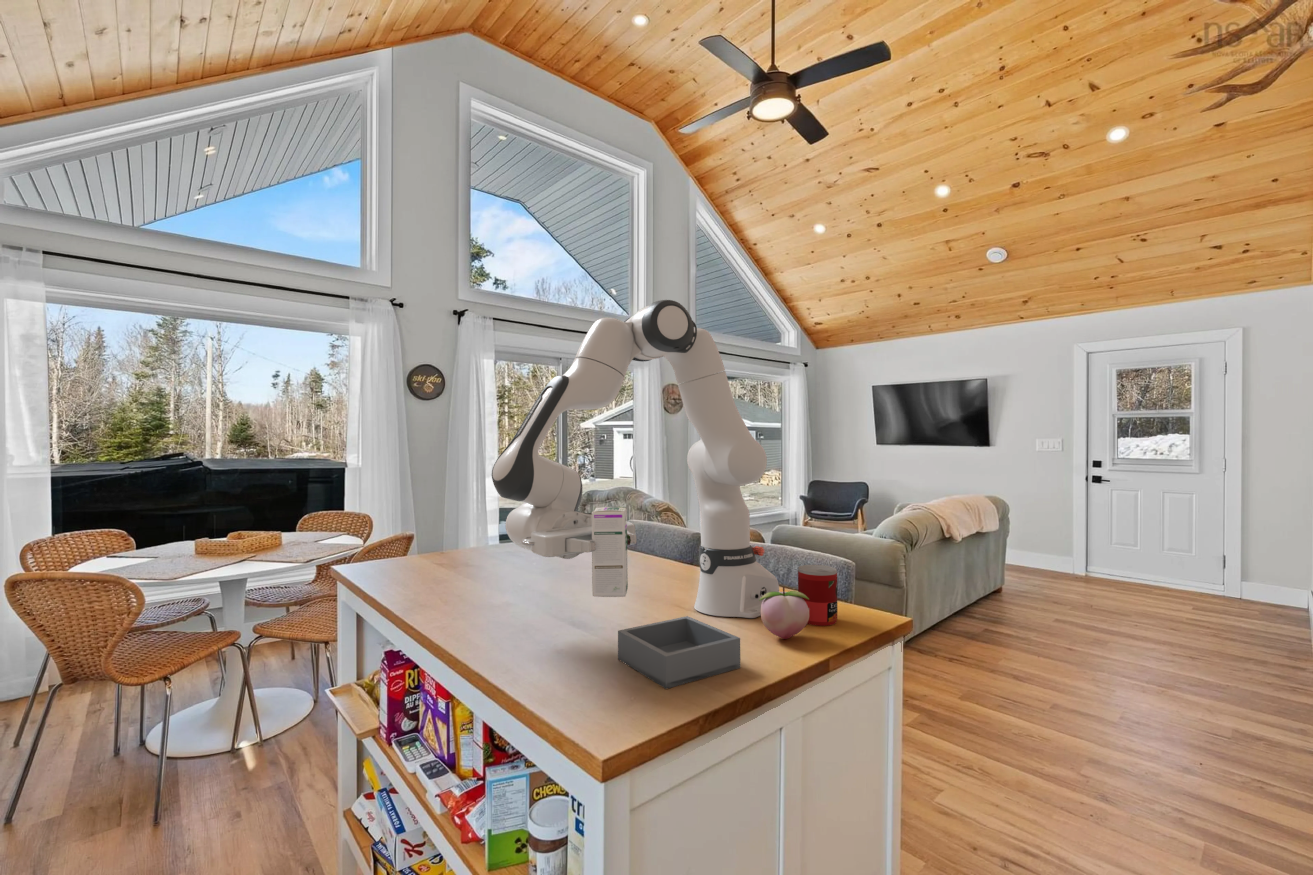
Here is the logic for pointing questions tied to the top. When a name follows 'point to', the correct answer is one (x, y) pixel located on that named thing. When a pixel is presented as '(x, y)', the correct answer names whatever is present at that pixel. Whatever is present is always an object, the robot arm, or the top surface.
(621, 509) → the syrup box
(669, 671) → the bin
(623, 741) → the top surface
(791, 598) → the decorative fruit
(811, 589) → the canned food
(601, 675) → the top surface
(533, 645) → the top surface
